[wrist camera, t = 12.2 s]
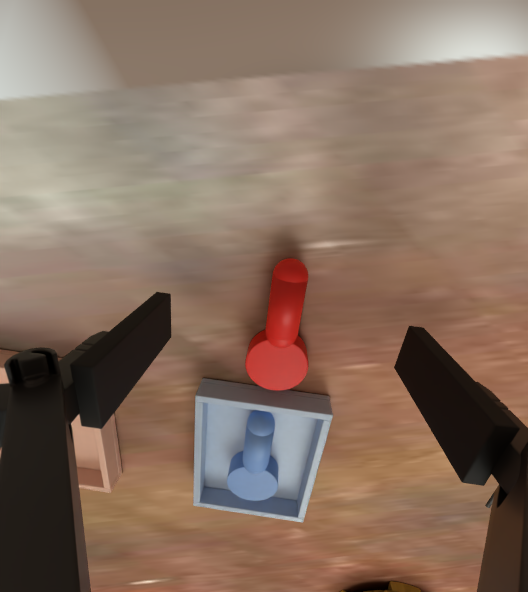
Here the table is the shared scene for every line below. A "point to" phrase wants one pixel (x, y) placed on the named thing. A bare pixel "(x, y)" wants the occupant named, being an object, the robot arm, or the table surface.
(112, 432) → the rose tray
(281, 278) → the red spoon
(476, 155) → the table surface
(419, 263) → the table surface
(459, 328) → the table surface
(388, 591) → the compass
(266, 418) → the blue spoon
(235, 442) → the blue tray
